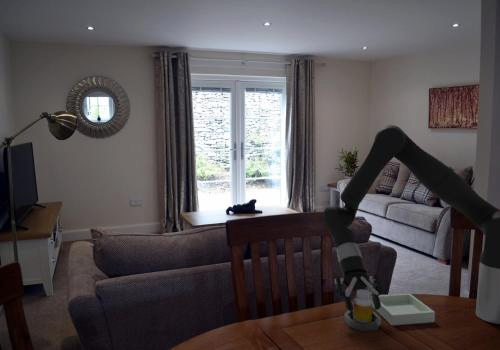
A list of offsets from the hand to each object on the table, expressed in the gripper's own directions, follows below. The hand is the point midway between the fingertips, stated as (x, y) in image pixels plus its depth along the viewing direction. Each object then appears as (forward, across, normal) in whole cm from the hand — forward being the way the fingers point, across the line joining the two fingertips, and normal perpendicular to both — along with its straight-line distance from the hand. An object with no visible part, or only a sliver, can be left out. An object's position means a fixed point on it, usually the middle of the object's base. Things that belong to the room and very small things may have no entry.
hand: (364, 309), depth 119 cm
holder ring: (+2, 0, +4) cm, 5 cm away
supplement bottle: (+3, 0, +4) cm, 5 cm away
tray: (0, +15, +7) cm, 17 cm away
